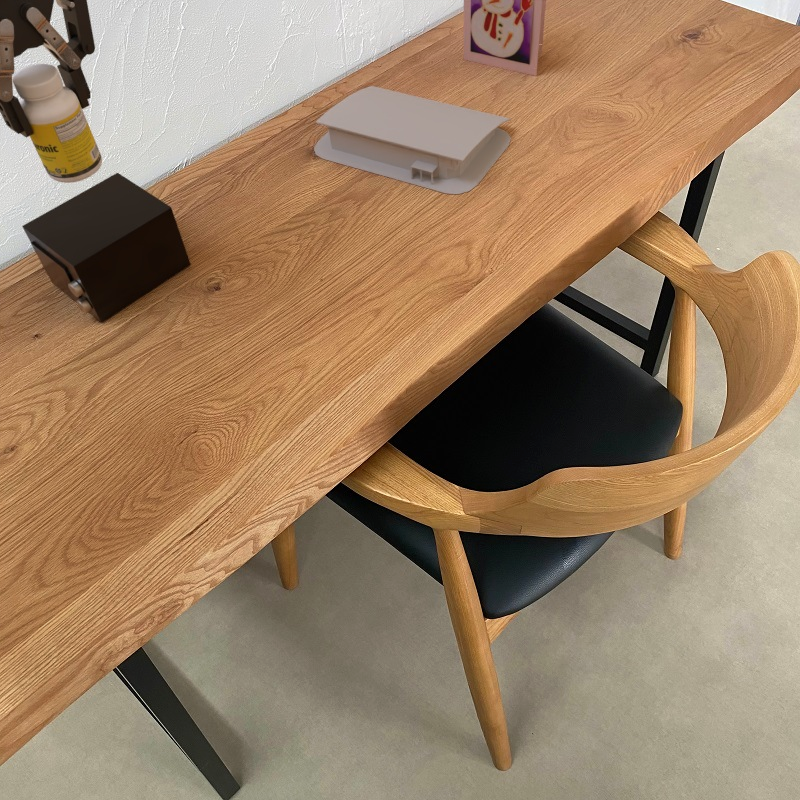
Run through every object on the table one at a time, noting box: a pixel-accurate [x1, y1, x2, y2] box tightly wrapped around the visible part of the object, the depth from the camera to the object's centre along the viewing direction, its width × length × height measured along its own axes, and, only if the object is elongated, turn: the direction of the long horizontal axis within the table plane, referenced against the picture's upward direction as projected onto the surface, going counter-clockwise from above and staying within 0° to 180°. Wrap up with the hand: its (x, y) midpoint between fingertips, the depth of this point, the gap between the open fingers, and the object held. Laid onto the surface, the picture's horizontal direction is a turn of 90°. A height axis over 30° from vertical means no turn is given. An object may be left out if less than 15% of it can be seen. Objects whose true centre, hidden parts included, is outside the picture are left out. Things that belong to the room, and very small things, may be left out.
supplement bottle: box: [12, 63, 103, 184], centre depth 75 cm, size 5×5×10 cm
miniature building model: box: [313, 85, 512, 195], centre depth 101 cm, size 15×23×4 cm, turn 61°
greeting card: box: [463, 0, 547, 77], centre depth 109 cm, size 11×7×15 cm, turn 60°
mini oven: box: [21, 172, 192, 324], centre depth 86 cm, size 13×10×8 cm
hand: (53, 118), depth 74 cm, fingers closed on supplement bottle, 5 cm apart
